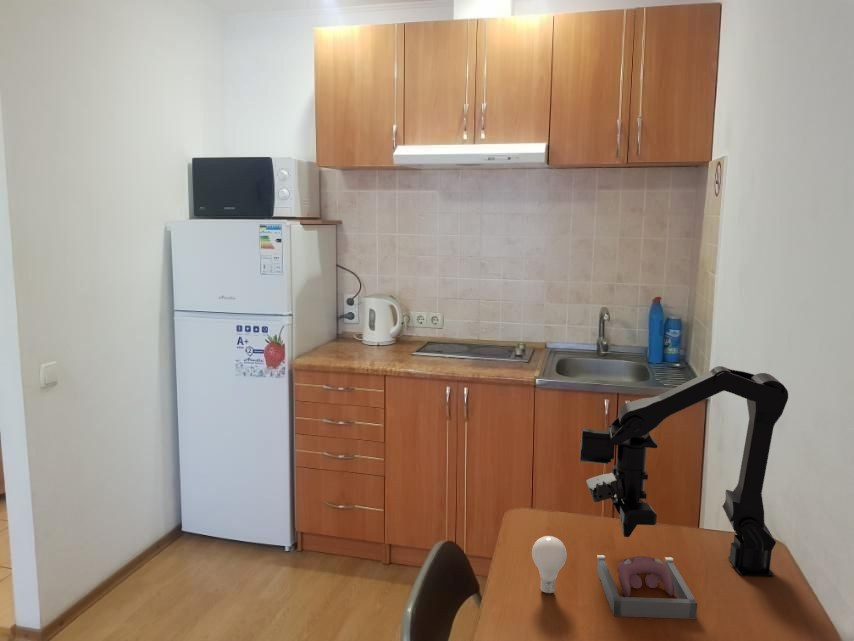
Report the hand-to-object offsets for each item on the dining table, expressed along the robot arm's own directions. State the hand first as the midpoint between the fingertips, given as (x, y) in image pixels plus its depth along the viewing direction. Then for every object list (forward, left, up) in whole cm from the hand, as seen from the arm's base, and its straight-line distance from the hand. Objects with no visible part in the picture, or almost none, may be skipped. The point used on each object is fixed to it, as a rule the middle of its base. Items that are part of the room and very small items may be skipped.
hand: (626, 536), depth 138 cm
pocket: (0, +13, -4) cm, 14 cm away
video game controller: (-1, +13, -4) cm, 13 cm away
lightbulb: (+18, +15, -4) cm, 24 cm away
